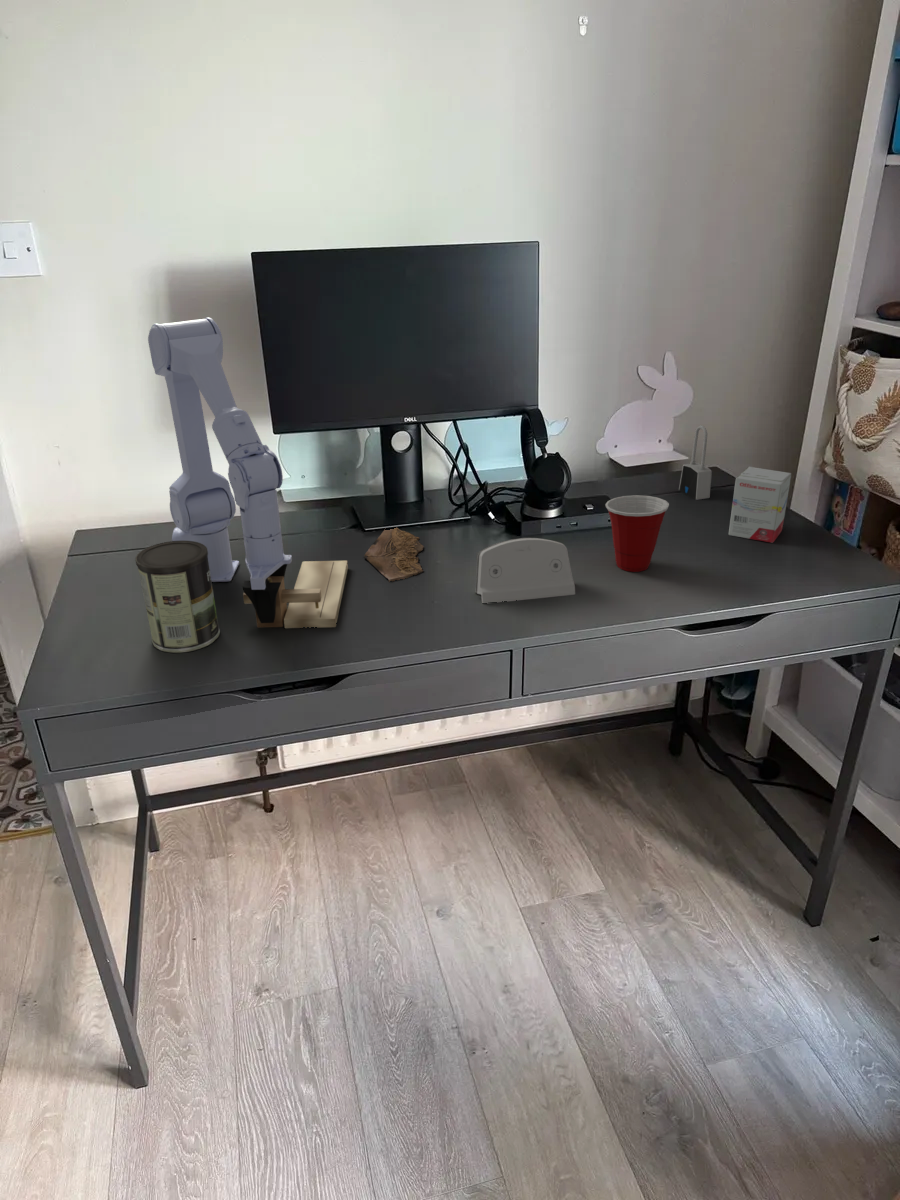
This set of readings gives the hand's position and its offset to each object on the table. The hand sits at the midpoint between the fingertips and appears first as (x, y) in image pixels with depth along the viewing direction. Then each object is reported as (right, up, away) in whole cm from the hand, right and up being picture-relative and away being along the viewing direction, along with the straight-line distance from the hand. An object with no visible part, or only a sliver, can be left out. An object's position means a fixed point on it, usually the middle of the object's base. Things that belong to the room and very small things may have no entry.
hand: (271, 610), depth 138 cm
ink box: (+88, +15, +30) cm, 94 cm away
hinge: (+41, +3, +9) cm, 42 cm away
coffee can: (-13, -4, -4) cm, 14 cm away
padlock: (+81, +25, +50) cm, 99 cm away
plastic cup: (+61, +8, +17) cm, 64 cm away
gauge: (+2, -1, +1) cm, 3 cm away
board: (+6, +2, +8) cm, 10 cm away
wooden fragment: (+18, +10, +24) cm, 32 cm away
